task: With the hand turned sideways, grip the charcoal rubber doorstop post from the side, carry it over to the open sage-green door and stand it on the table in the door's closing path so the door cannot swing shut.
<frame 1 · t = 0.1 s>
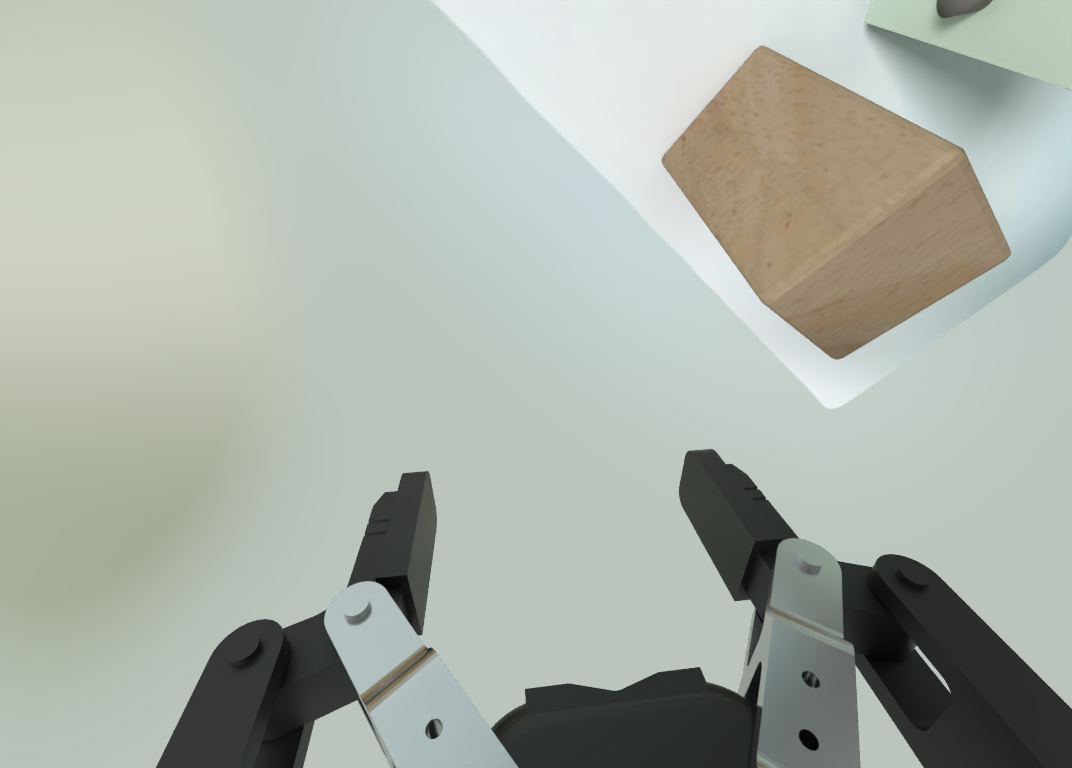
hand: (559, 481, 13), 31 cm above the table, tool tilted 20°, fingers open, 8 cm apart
wooden block: (737, 141, 37), on the table
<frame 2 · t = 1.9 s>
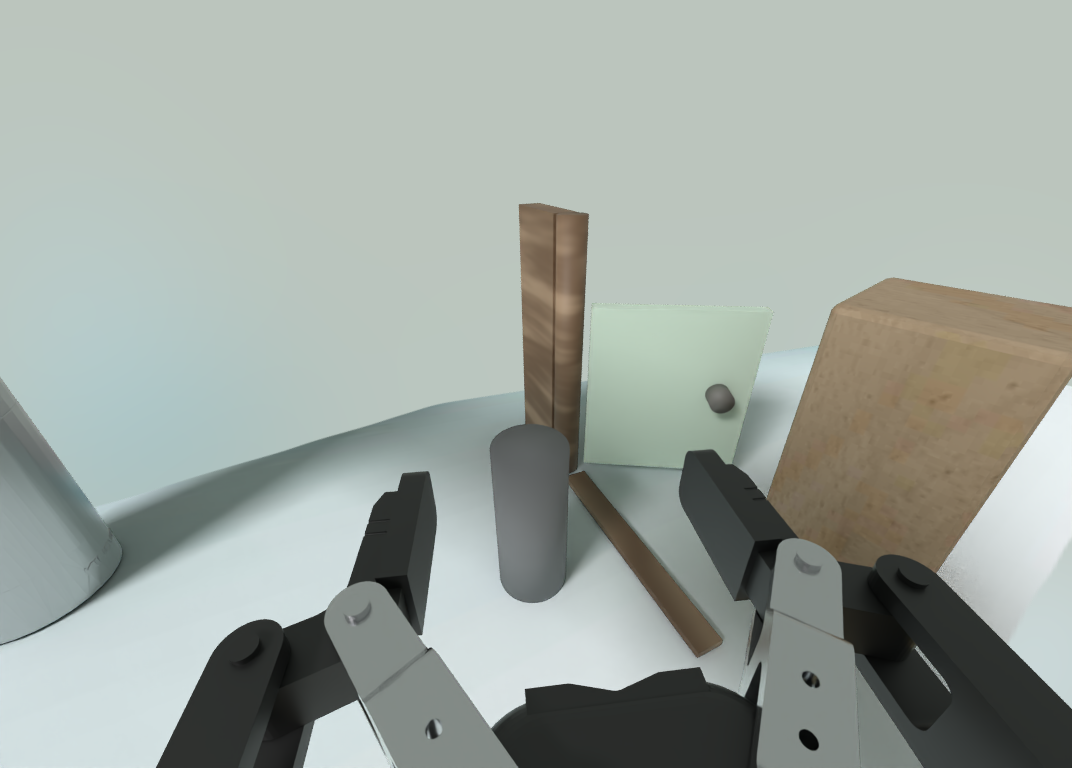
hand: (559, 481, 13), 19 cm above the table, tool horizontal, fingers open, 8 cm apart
door: (667, 397, 37), point 9 cm above the table, hinge at 60.0°
wall: (565, 465, 43), on the table
wooden block: (842, 545, 34), on the table
doorstop: (532, 572, 32), on the table
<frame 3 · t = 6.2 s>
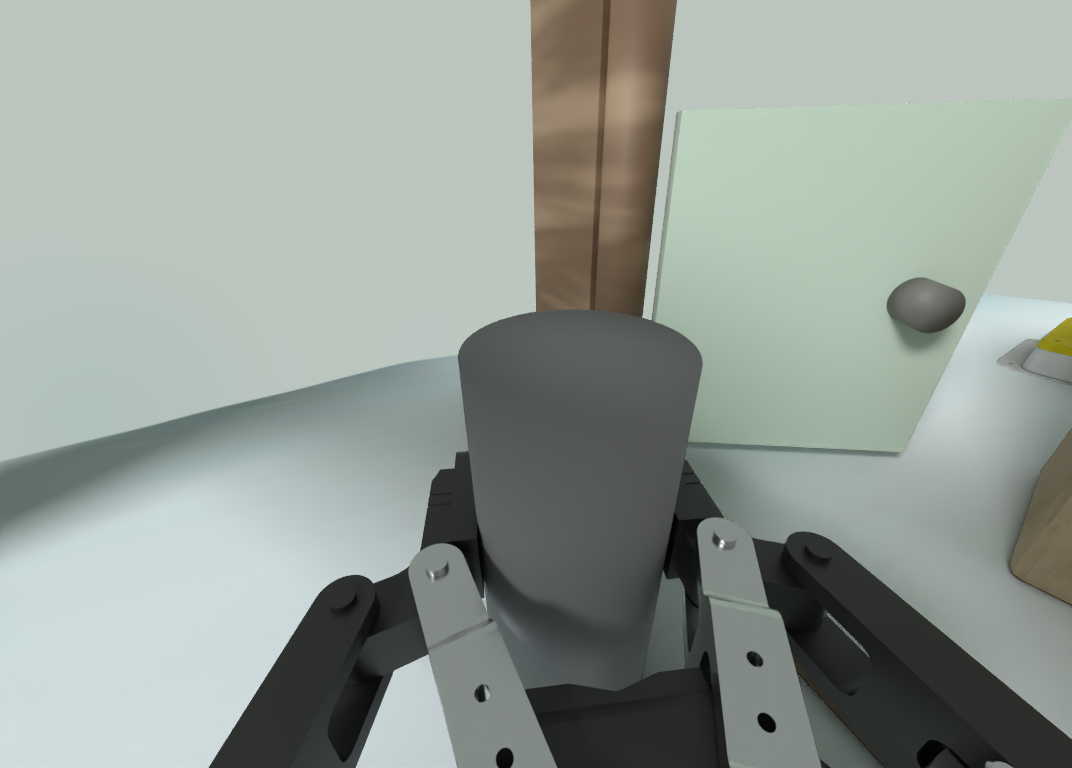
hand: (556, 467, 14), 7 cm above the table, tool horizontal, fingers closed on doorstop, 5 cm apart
door: (812, 309, 20), point 9 cm above the table, hinge at 60.0°
wall: (607, 445, 25), on the table
doorstop: (566, 663, 15), on the table, touching gripper
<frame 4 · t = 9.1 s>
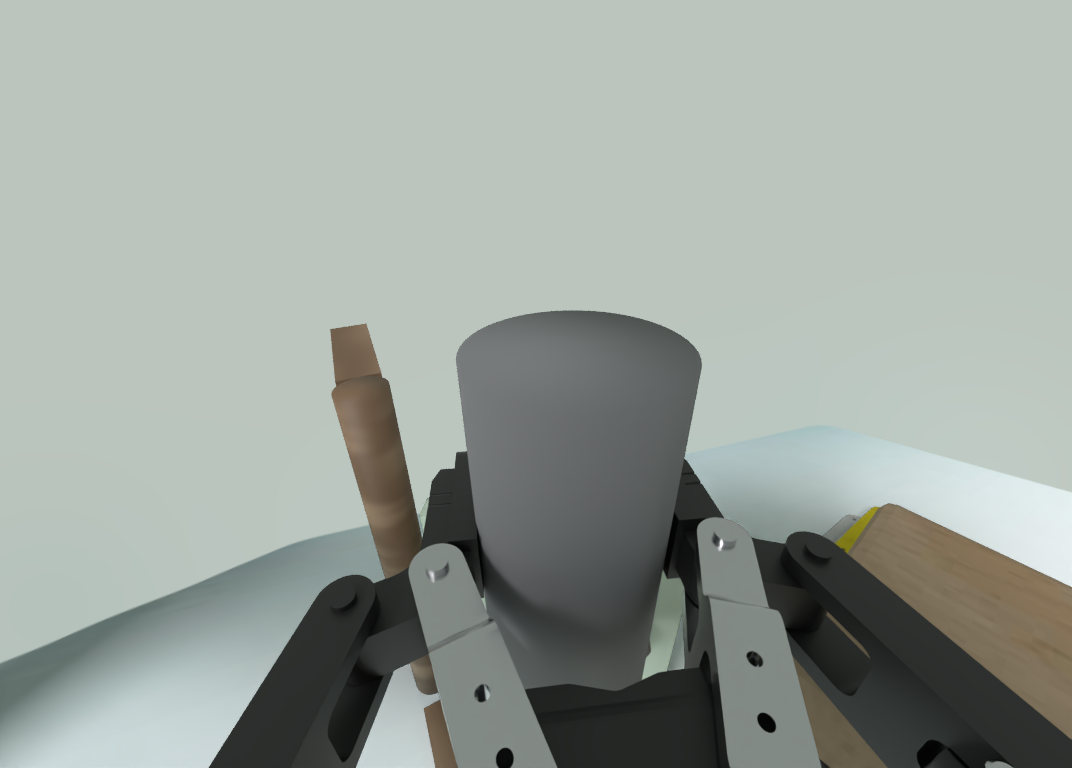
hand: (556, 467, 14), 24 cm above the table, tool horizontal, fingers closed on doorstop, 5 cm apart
door: (555, 623, 24), point 9 cm above the table, hinge at 60.0°
wall: (432, 675, 30), on the table
emergency button: (916, 596, 36), on the table
doorstop: (566, 665, 15), point 17 cm above the table, touching gripper
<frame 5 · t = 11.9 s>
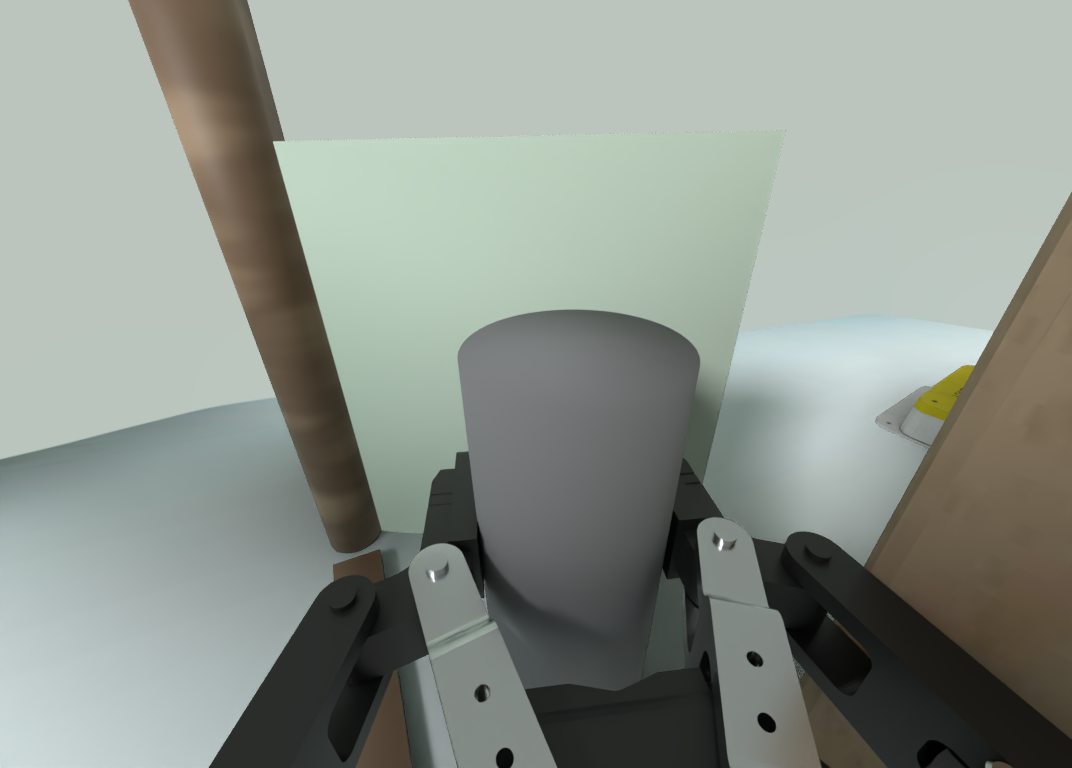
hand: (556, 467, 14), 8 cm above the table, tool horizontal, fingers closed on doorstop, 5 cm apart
door: (522, 393, 15), point 9 cm above the table, hinge at 60.0°
wall: (356, 532, 21), on the table
emergency button: (1038, 466, 26), on the table
doorstop: (567, 662, 15), point 1 cm above the table, touching gripper
when the fingers open (7 cm above the table, at t = 12.4 s): doorstop stays where it is, on the table.
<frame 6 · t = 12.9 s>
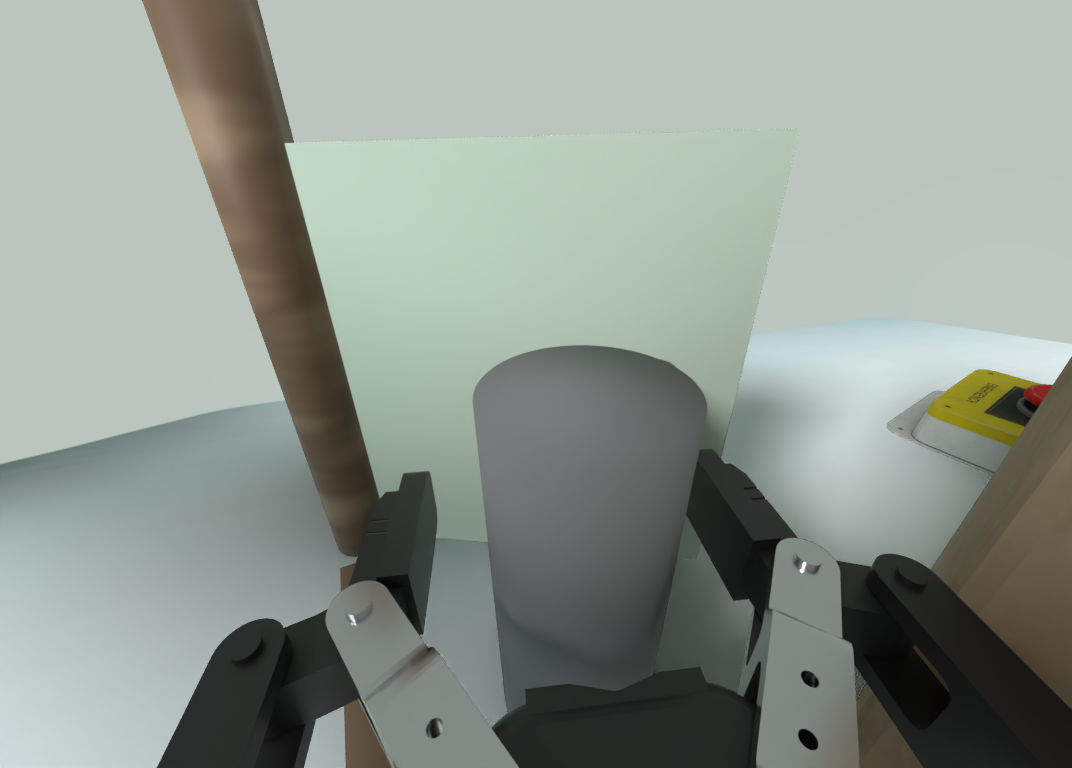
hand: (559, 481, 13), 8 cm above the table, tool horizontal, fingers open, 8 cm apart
door: (531, 395, 15), point 9 cm above the table, hinge at 60.0°
wall: (363, 536, 21), on the table
emergency button: (1056, 473, 25), on the table
doorstop: (574, 681, 15), on the table
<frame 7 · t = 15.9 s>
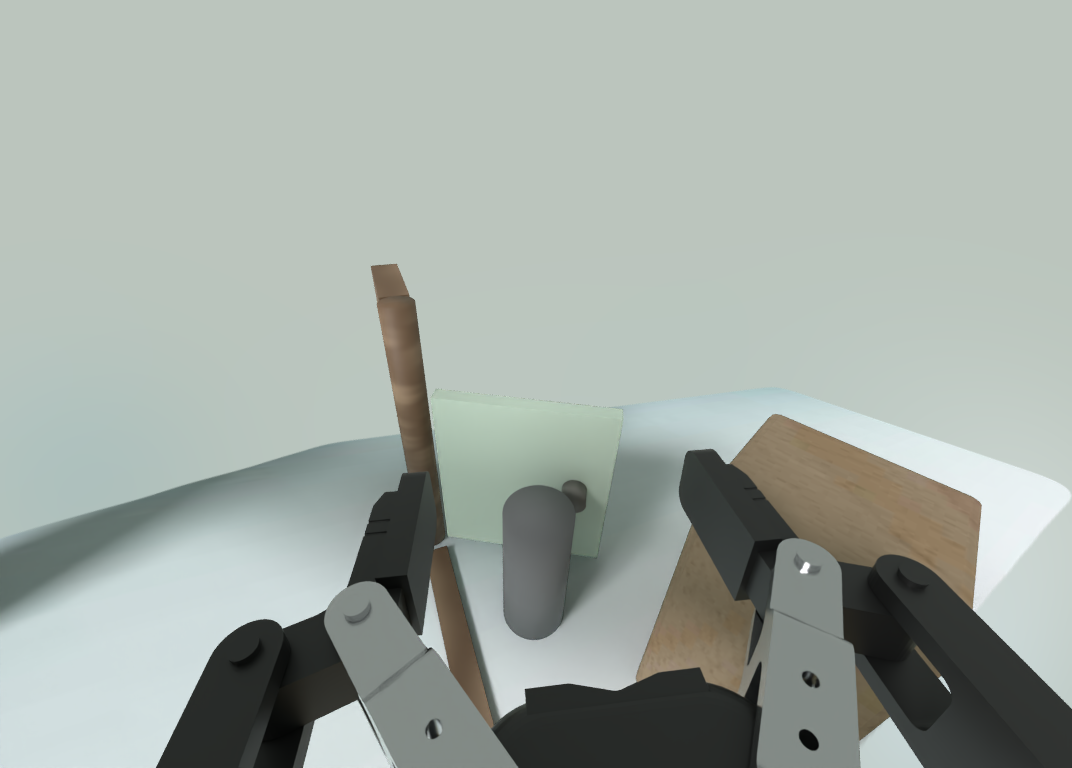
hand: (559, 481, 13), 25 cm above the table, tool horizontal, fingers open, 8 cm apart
door: (522, 488, 34), point 9 cm above the table, hinge at 60.0°
wall: (432, 535, 41), on the table
wooden block: (725, 682, 31), on the table
doorstop: (533, 608, 35), on the table
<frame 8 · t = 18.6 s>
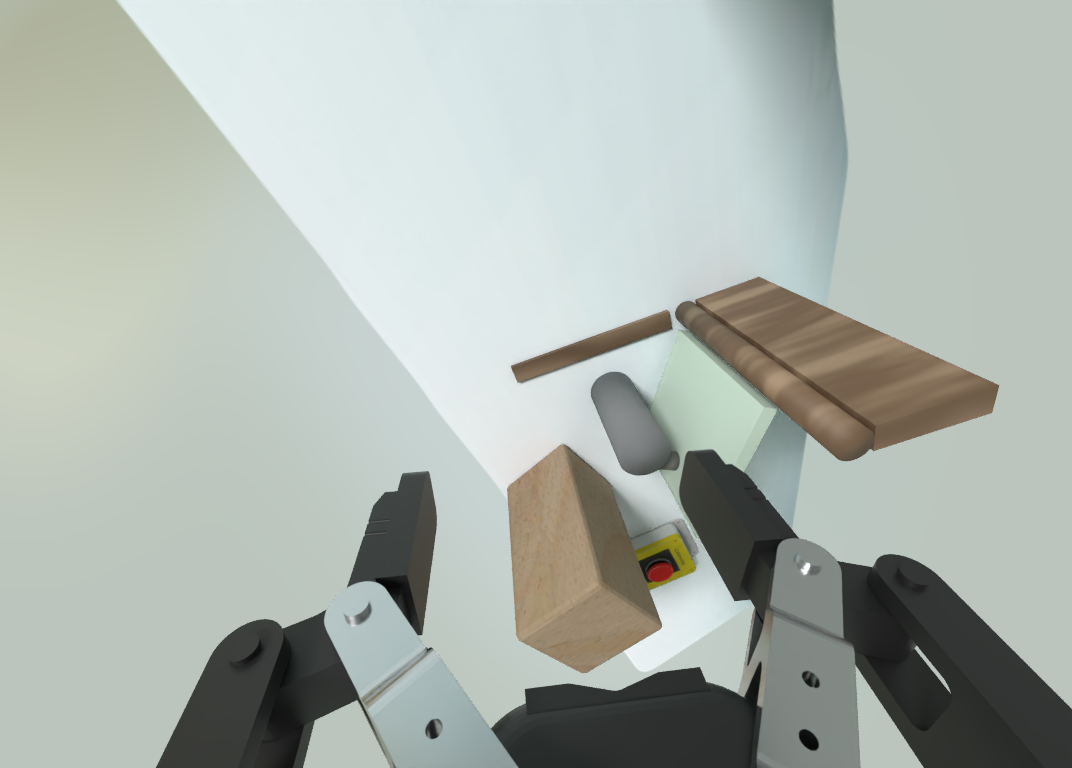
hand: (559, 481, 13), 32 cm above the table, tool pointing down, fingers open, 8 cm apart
door: (685, 424, 42), point 9 cm above the table, hinge at 60.0°
wall: (686, 311, 46), on the table
emergency button: (644, 550, 65), on the table
wooden block: (558, 483, 56), on the table
doorstop: (611, 390, 50), on the table
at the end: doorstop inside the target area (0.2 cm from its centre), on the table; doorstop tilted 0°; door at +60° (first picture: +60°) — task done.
